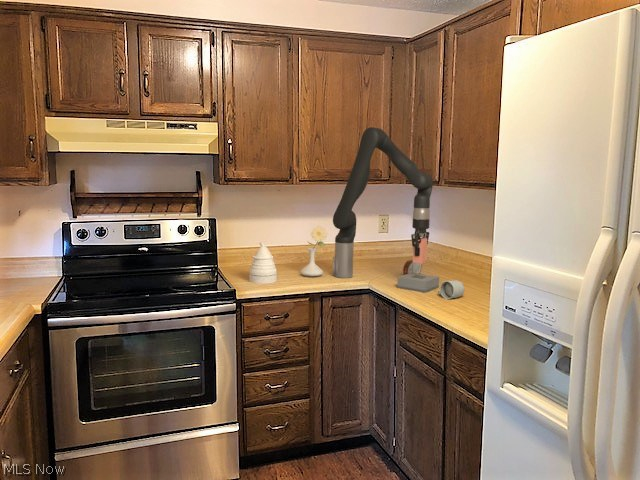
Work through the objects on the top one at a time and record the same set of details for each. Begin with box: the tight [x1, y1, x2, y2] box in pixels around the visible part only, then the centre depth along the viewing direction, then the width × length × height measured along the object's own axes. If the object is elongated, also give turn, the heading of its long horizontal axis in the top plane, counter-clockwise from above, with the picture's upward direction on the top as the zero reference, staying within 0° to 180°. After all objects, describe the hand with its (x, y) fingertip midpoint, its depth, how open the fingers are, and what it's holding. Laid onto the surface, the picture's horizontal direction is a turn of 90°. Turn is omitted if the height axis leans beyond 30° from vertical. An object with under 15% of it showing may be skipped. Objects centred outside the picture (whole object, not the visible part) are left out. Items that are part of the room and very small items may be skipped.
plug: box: [412, 238, 428, 265], centre depth 243 cm, size 4×4×14 cm
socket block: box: [396, 273, 440, 294], centre depth 245 cm, size 14×14×5 cm
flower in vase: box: [300, 226, 328, 277], centre depth 266 cm, size 13×11×25 cm
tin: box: [402, 259, 423, 275], centre depth 271 cm, size 15×3×8 cm, turn 141°
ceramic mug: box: [437, 279, 465, 300], centre depth 229 cm, size 11×8×8 cm
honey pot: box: [249, 241, 278, 285], centre depth 253 cm, size 13×13×18 cm
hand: (419, 255), depth 243 cm, fingers closed on plug, 4 cm apart
